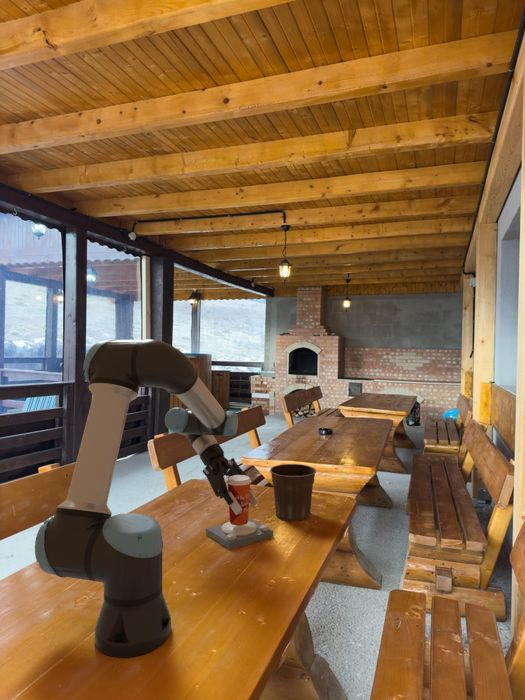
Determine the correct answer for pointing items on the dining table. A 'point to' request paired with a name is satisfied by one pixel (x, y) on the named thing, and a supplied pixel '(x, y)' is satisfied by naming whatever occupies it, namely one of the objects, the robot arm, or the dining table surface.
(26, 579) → the dining table surface
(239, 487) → the paper cup
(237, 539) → the grey flat block
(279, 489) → the plant pot
